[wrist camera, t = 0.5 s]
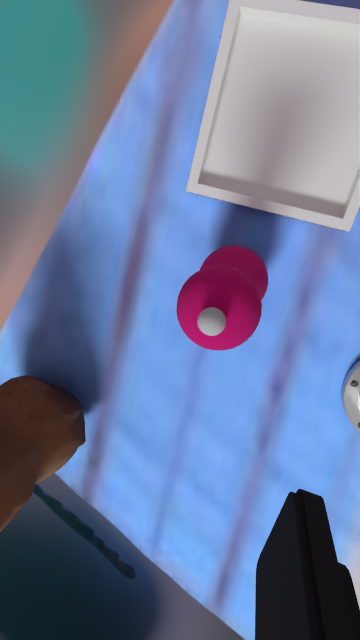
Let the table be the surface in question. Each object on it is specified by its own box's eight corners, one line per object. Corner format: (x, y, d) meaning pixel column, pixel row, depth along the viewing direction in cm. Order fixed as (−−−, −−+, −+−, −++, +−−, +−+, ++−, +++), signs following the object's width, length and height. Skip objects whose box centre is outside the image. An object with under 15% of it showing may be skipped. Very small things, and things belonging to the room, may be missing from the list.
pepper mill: (219, 233, 37) (175, 244, 18) (278, 257, 36) (295, 295, 17) (196, 290, 39) (136, 351, 21) (251, 314, 39) (240, 399, 20)
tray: (422, 35, 28) (435, 20, 26) (344, 231, 34) (349, 231, 32) (233, 6, 31) (231, -10, 29) (190, 192, 36) (186, 191, 34)
